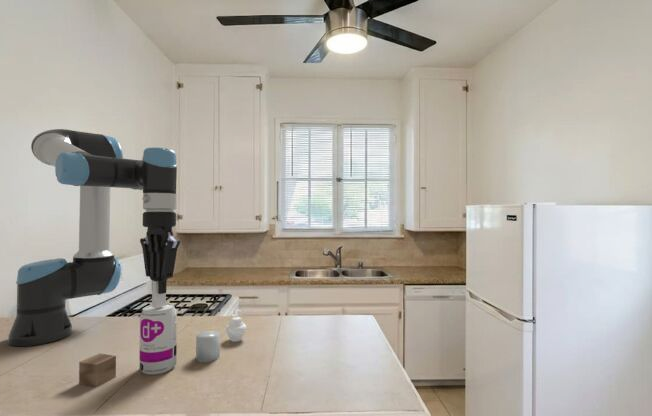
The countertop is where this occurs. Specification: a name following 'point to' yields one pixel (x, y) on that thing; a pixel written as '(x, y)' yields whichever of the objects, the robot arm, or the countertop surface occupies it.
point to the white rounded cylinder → (207, 346)
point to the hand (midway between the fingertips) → (158, 306)
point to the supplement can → (158, 339)
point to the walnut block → (97, 370)
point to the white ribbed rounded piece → (236, 329)
